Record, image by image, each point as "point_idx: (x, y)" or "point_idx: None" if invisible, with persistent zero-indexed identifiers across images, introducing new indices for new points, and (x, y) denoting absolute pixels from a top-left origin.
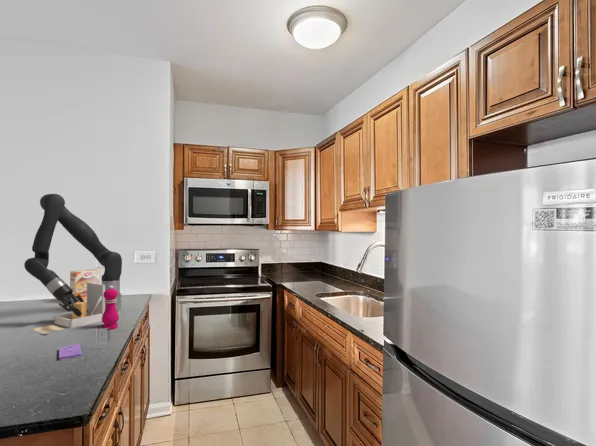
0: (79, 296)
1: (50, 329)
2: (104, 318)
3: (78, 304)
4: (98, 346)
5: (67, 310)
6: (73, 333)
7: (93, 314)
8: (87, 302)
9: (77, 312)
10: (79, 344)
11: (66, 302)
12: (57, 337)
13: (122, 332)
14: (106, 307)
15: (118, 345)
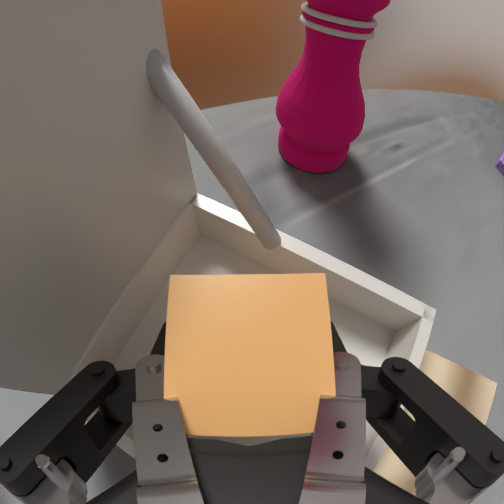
0: (19, 459)
1: None
2: (364, 113)
3: (328, 322)
4: (468, 128)
5: (398, 411)
6: (437, 265)
7: (130, 309)
8: (16, 380)
9: (335, 331)
10: (501, 157)
11: (455, 436)
12: (490, 296)
13: None
14: (359, 60)
15: (439, 96)
